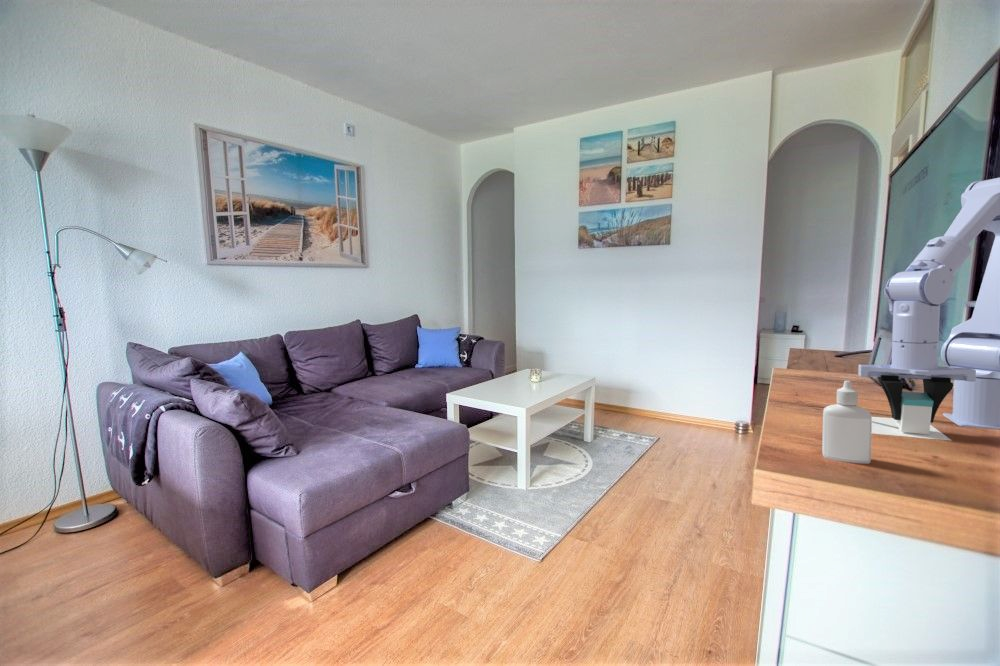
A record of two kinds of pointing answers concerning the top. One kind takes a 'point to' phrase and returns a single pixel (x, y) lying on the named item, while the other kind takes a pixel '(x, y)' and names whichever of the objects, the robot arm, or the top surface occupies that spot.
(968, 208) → the robot arm
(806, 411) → the top surface
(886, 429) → the paper
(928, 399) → the white and teal box
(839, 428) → the eye dropper bottle
